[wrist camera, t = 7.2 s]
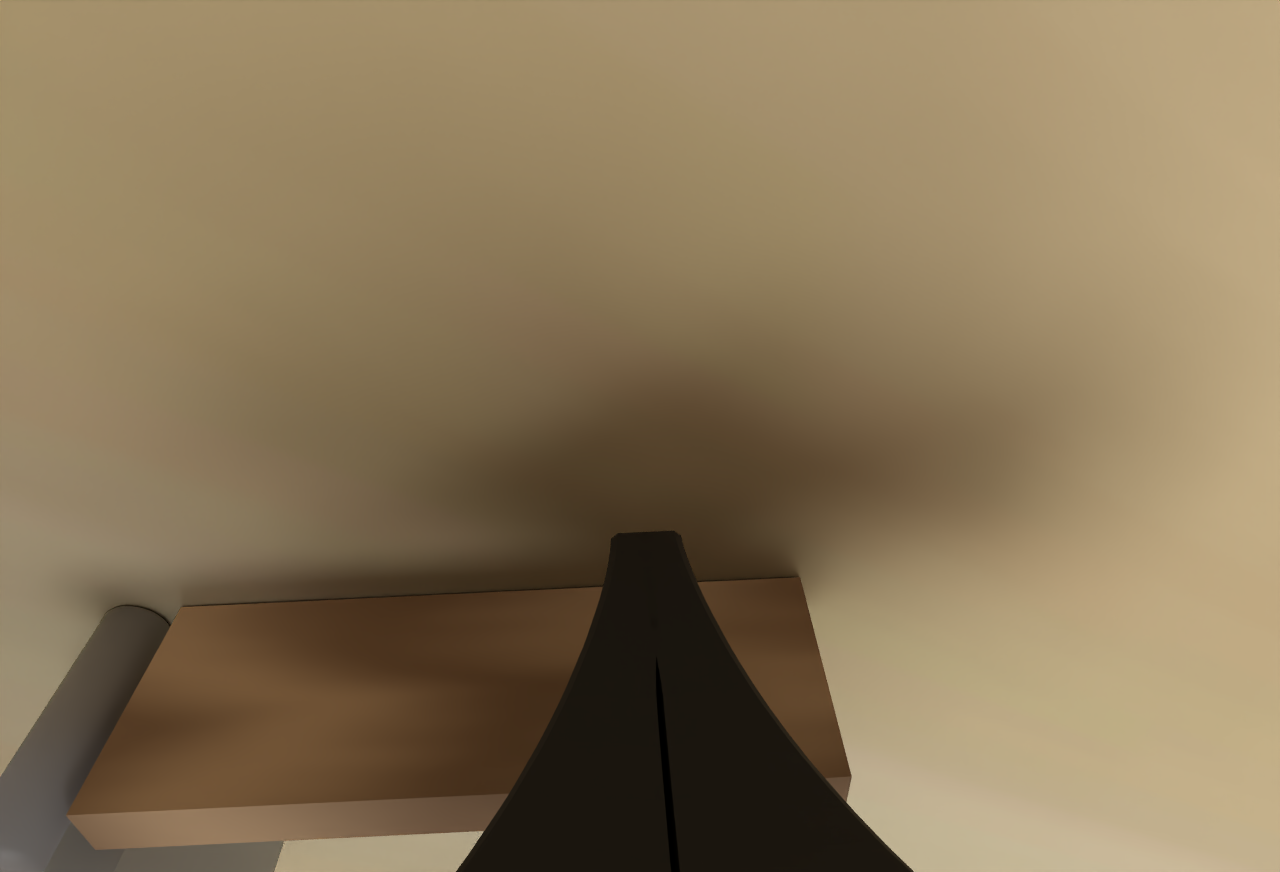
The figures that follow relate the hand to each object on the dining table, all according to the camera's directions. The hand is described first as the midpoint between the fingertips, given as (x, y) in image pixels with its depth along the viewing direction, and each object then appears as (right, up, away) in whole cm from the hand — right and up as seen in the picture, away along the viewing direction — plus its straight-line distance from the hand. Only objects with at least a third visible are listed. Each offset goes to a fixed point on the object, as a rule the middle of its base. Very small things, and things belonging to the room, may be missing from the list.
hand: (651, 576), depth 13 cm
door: (-3, -1, +2) cm, 4 cm away
